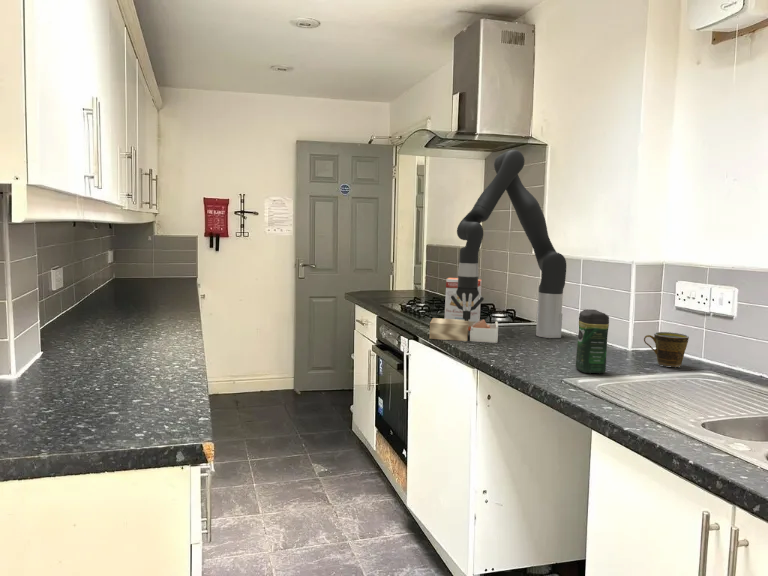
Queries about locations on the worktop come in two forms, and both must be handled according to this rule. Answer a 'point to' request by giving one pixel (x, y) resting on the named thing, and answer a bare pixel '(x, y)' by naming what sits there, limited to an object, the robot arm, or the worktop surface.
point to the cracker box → (451, 307)
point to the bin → (485, 334)
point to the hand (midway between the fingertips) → (466, 320)
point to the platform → (449, 329)
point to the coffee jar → (592, 341)
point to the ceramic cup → (669, 348)
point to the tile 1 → (480, 324)
